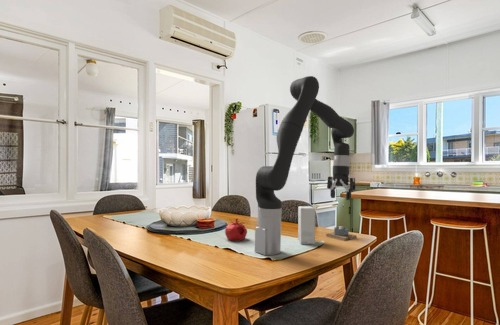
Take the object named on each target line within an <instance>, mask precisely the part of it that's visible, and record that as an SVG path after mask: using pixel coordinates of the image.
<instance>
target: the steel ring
mask: <svg viewBox="0 0 500 325" xmlns="http://www.w3.org/2000/svg"><path fill="white" fill-rule="evenodd" d="M333 230H334V231H333V232H334V234H335V235H338V236H348V234H350V233H349V228H348V227H344V229H339V226H336V227H334V228H333Z"/></svg>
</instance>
